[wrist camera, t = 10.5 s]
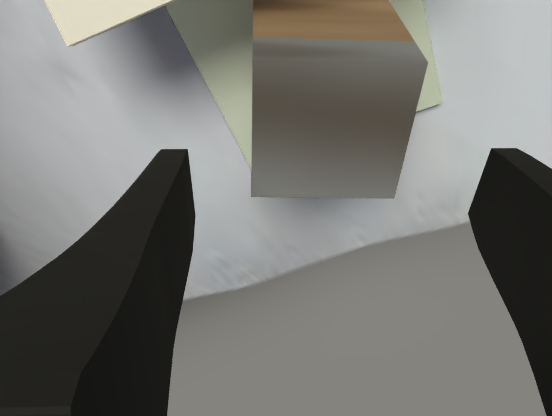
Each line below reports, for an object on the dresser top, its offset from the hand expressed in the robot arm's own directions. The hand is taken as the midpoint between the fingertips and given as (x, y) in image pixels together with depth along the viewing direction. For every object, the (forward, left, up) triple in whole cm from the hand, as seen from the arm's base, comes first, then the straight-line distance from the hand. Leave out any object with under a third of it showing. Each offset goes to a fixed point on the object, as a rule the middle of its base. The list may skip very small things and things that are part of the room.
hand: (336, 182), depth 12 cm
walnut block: (0, 0, -10) cm, 10 cm away
